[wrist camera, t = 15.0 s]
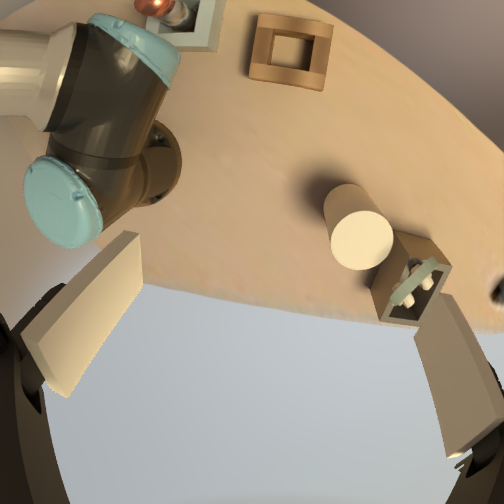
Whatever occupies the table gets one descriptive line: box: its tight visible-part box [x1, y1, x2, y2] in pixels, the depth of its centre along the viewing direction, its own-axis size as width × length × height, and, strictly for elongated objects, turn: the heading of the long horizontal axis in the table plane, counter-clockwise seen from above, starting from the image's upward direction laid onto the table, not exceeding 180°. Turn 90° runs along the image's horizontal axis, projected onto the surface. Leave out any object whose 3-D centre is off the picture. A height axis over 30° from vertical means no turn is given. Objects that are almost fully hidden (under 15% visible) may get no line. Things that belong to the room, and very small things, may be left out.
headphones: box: [390, 256, 440, 308], centre depth 38 cm, size 8×4×20 cm
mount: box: [248, 13, 334, 92], centre depth 33 cm, size 10×10×4 cm
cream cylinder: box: [323, 184, 393, 270], centre depth 40 cm, size 8×8×12 cm
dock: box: [145, 0, 226, 52], centre depth 31 cm, size 10×10×5 cm
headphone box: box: [370, 230, 453, 327], centre depth 44 cm, size 8×12×9 cm
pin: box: [134, 0, 198, 33], centre depth 27 cm, size 4×4×14 cm
